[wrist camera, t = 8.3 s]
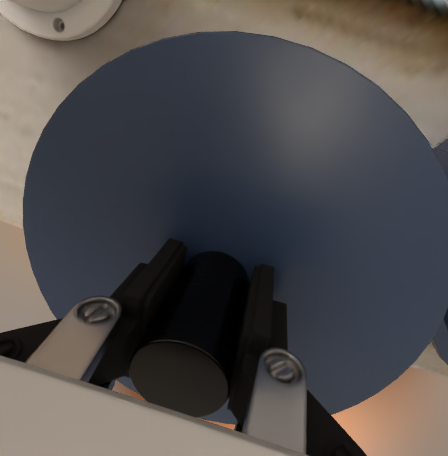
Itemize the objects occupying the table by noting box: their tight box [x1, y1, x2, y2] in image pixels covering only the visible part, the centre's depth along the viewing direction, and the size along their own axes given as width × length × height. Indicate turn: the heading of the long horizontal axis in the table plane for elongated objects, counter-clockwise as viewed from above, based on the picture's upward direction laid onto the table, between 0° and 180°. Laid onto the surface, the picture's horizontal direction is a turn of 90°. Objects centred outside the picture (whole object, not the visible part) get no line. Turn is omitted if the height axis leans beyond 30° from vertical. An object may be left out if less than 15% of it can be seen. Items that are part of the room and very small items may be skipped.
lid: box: [23, 31, 448, 425], centre depth 11 cm, size 18×18×6 cm
